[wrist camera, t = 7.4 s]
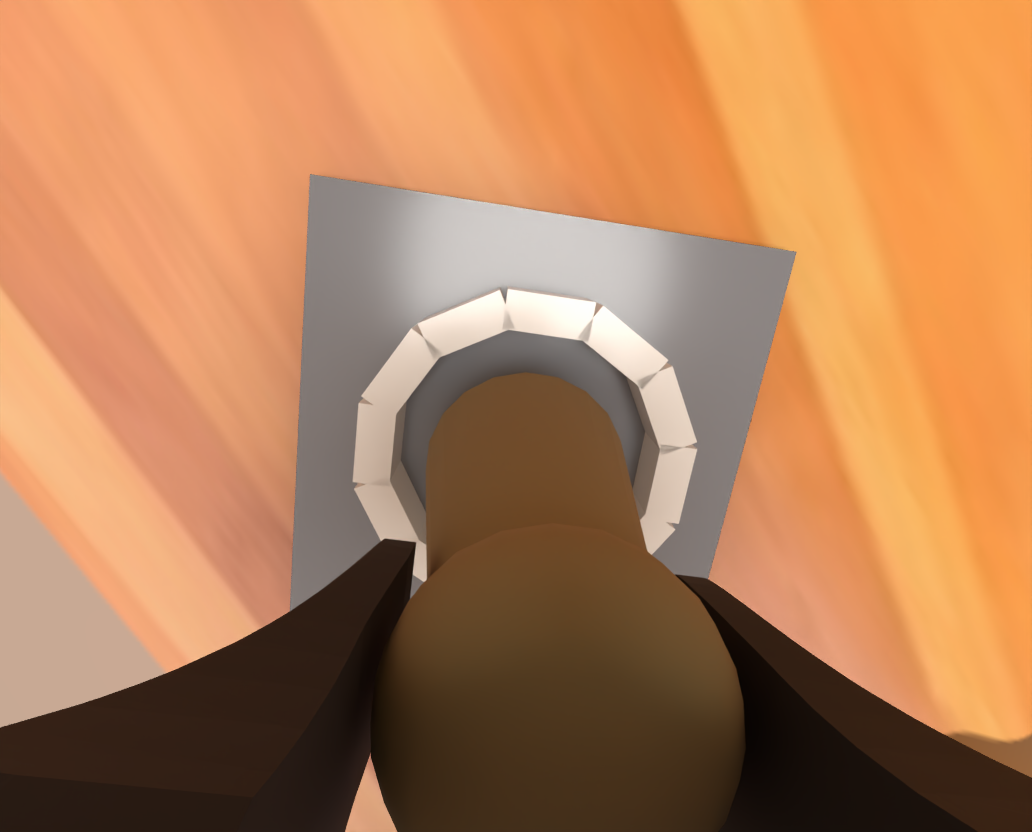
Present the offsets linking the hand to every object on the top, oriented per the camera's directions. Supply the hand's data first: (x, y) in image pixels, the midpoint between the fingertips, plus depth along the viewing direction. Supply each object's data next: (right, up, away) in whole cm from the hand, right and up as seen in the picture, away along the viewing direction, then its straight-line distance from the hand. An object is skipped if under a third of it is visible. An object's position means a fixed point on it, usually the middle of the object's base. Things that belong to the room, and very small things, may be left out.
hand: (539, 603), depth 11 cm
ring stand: (0, +3, +10) cm, 10 cm away
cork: (0, +2, +6) cm, 7 cm away
